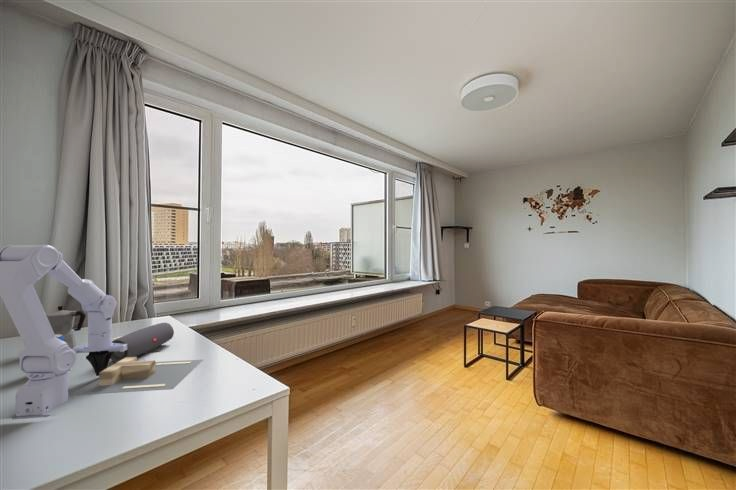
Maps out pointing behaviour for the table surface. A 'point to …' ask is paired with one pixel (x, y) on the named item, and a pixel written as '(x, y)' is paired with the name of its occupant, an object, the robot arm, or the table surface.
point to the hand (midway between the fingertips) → (100, 374)
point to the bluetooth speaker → (143, 341)
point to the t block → (126, 370)
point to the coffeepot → (65, 324)
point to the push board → (147, 379)
